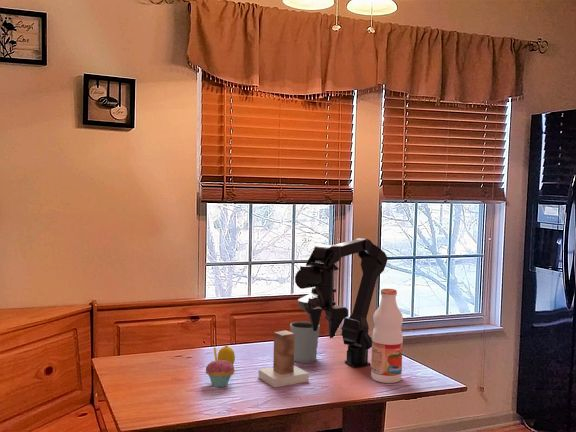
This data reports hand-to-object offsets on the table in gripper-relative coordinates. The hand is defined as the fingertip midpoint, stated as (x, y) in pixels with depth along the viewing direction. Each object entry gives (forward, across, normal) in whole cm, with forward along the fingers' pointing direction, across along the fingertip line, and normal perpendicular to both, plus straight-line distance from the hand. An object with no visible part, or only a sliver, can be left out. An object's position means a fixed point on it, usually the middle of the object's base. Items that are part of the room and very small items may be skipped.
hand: (323, 334), depth 184 cm
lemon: (+13, -18, -25) cm, 34 cm away
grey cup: (+13, -17, +4) cm, 22 cm away
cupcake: (+13, -7, -32) cm, 35 cm away
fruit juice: (+13, +12, +16) cm, 24 cm away
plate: (+13, -2, -13) cm, 18 cm away
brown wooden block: (+10, -2, -13) cm, 17 cm away
